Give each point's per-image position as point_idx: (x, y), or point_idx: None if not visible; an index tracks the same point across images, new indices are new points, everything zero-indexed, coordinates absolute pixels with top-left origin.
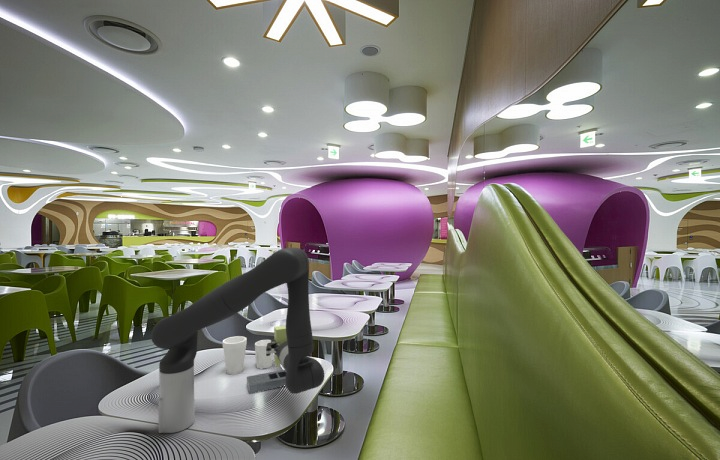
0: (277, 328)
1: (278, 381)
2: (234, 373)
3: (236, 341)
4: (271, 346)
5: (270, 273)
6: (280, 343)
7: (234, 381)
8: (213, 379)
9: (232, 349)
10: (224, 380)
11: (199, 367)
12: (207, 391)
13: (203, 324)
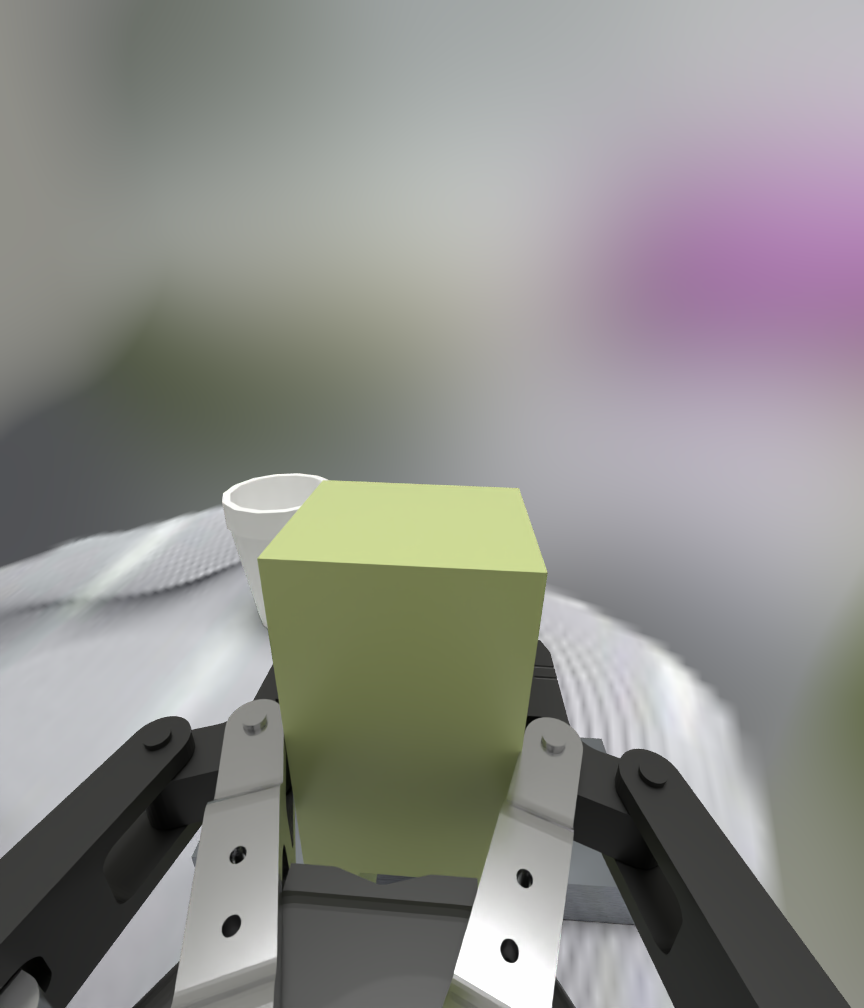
0: (323, 523)
1: (404, 879)
2: None
3: (307, 496)
4: (191, 796)
5: None
6: (237, 947)
7: (240, 692)
8: (187, 640)
9: (250, 537)
10: (213, 665)
11: (216, 554)
12: (80, 730)
13: None
